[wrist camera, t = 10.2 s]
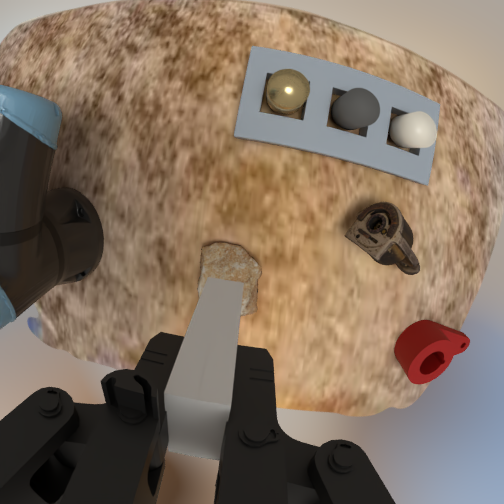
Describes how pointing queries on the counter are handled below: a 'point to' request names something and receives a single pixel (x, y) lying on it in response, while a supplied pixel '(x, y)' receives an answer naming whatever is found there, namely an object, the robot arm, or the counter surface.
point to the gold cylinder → (287, 91)
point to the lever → (428, 349)
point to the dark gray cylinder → (355, 109)
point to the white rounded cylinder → (413, 130)
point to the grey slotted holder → (317, 109)
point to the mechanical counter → (385, 236)
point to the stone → (231, 271)
